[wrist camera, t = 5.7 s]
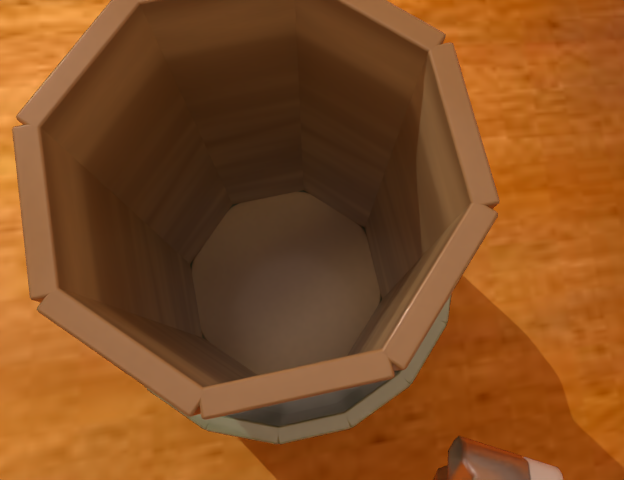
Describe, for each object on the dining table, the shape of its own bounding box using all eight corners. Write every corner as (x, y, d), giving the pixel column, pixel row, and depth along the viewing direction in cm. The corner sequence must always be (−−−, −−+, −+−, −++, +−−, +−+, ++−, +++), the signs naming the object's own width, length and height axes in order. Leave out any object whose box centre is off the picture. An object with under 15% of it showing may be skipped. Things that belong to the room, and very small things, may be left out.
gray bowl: (466, 249, 20) (517, 207, 15) (326, 480, 18) (331, 518, 13) (252, 118, 21) (234, 38, 16) (102, 325, 19) (30, 308, 14)
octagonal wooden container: (423, 255, 19) (567, 100, 8) (315, 429, 18) (321, 510, 7) (259, 154, 20) (198, -107, 9) (145, 314, 19) (-80, 230, 8)
